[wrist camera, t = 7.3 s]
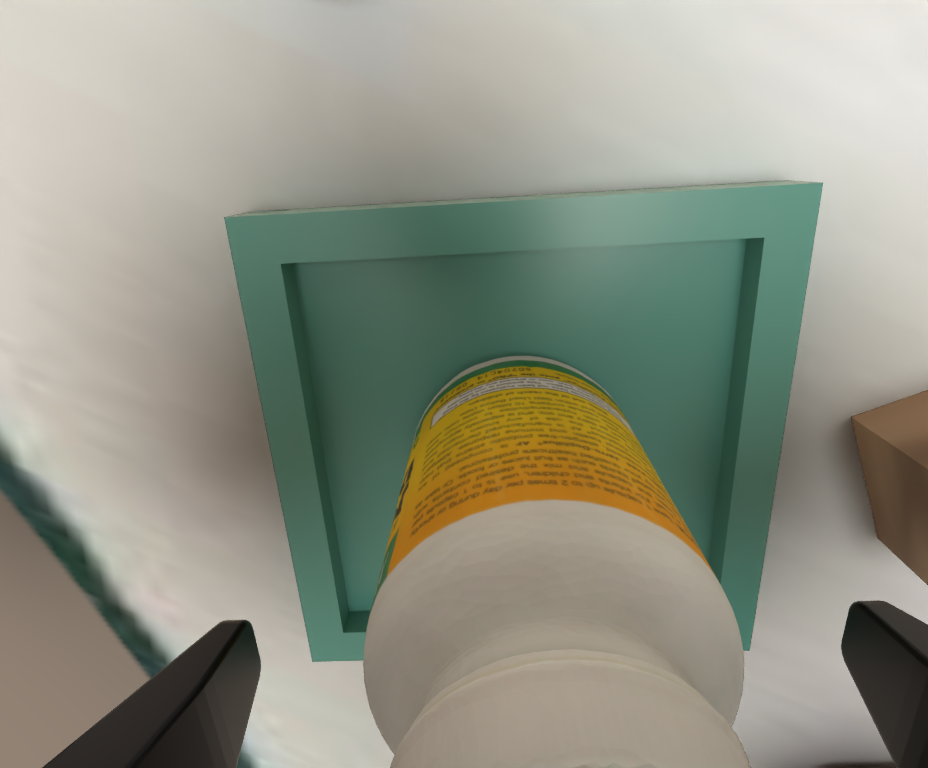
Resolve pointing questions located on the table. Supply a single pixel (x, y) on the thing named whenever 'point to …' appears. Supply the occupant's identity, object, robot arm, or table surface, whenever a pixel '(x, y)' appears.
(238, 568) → the table surface
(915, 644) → the robot arm
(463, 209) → the tray
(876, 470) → the walnut cube
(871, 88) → the table surface
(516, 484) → the supplement bottle
